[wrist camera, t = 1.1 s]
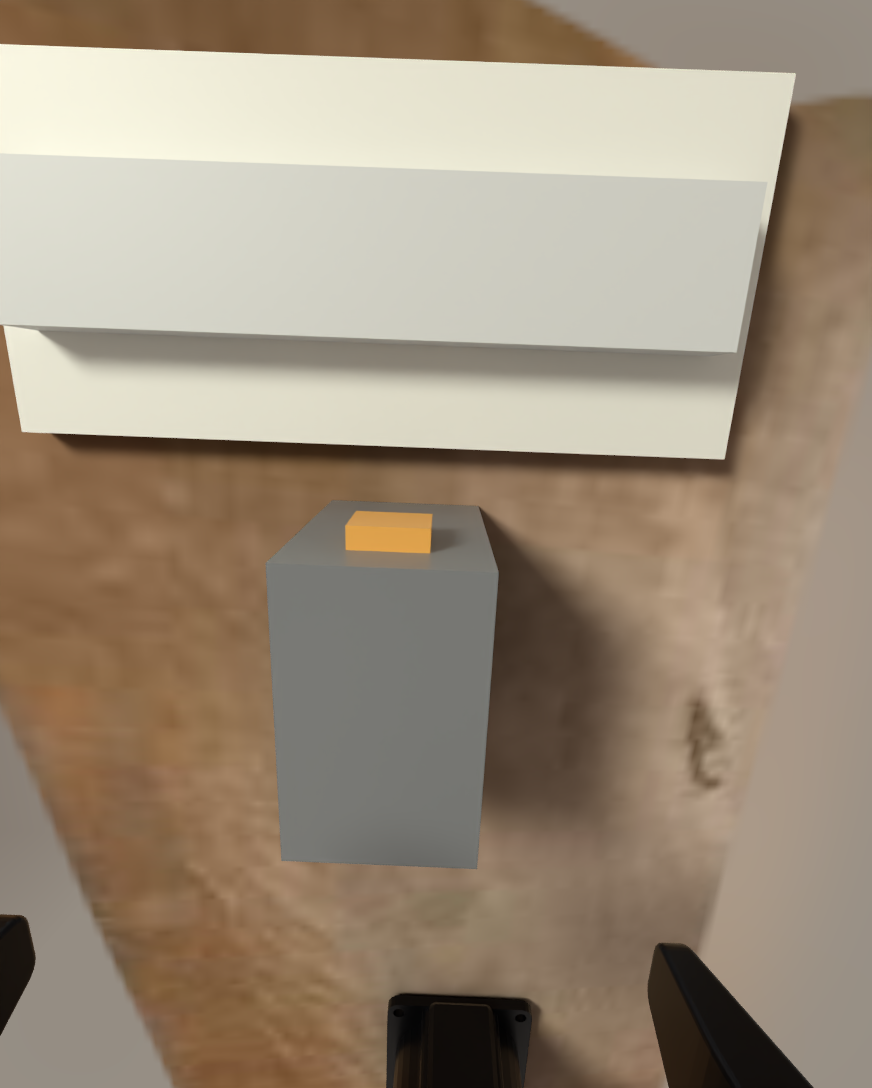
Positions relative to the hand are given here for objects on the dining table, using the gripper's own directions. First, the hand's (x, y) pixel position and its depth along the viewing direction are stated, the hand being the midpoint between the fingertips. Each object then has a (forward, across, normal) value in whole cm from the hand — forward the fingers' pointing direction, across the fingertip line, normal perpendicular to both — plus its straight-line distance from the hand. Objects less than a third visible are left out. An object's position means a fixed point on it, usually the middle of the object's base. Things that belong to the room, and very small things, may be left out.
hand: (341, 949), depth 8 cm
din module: (+12, 0, 0) cm, 12 cm away
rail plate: (+12, +1, -11) cm, 16 cm away
